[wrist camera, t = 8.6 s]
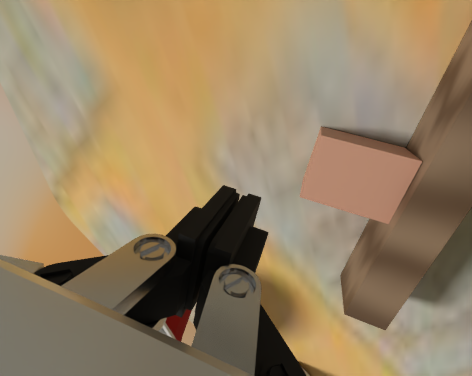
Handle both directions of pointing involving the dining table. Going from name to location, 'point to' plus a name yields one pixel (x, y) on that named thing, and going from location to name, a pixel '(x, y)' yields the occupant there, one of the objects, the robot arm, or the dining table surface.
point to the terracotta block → (358, 174)
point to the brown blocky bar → (418, 203)
